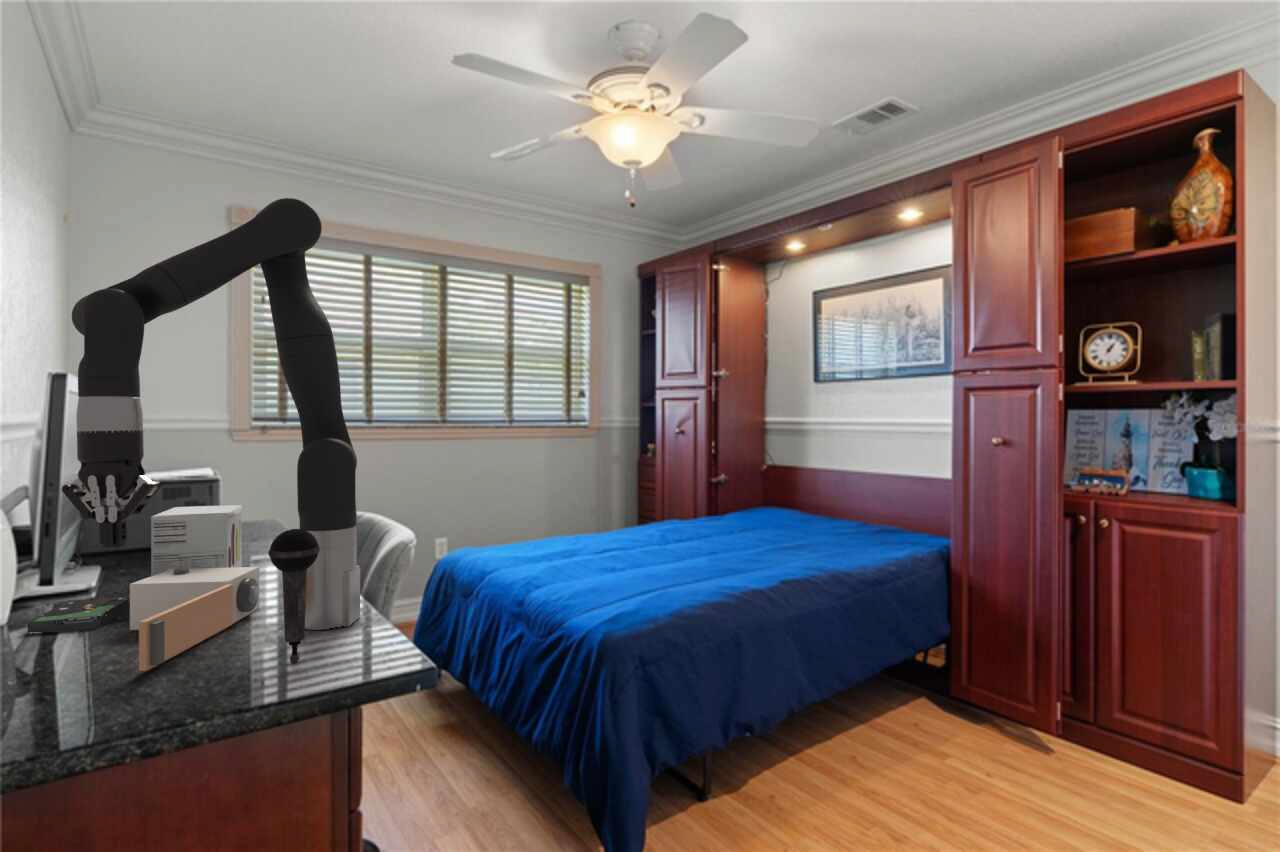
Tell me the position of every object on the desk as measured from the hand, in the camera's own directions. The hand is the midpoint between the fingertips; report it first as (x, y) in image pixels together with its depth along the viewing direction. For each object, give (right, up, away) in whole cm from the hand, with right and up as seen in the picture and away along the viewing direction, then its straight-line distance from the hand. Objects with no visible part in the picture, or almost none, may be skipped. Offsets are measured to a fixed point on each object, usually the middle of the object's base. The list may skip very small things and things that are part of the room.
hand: (113, 547), depth 95 cm
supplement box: (-16, -18, +42) cm, 48 cm away
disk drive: (-25, -19, +25) cm, 40 cm away
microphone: (+25, -18, +2) cm, 31 cm away
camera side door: (+6, -17, +9) cm, 20 cm away
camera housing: (-5, -18, +25) cm, 31 cm away
